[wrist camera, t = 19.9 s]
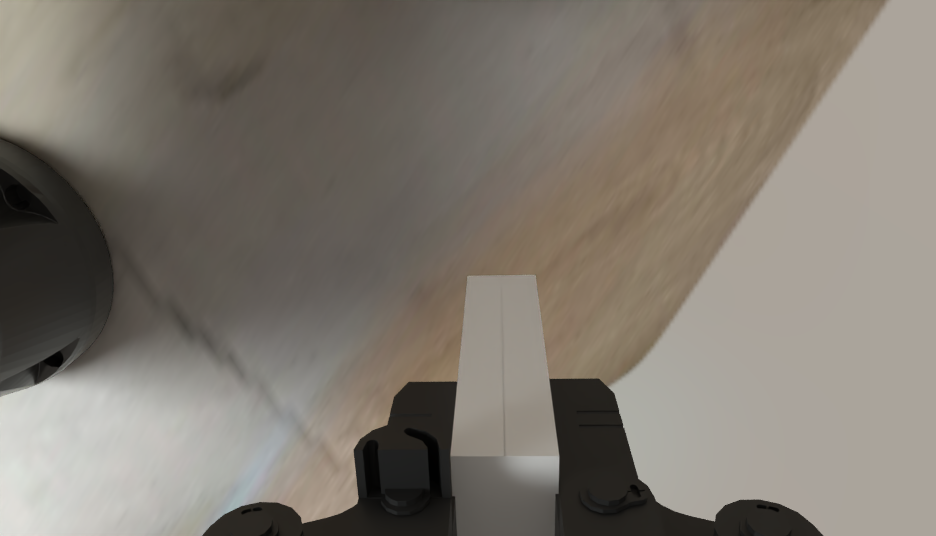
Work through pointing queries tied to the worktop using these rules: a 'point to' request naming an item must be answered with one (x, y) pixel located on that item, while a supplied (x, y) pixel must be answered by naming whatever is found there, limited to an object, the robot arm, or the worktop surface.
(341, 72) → the worktop surface
